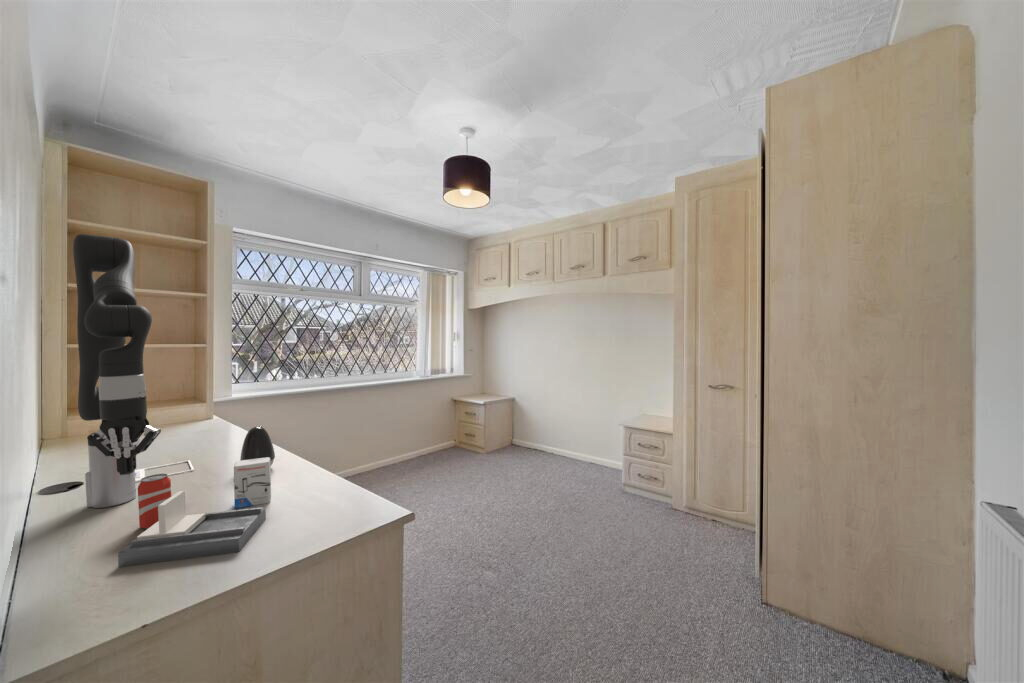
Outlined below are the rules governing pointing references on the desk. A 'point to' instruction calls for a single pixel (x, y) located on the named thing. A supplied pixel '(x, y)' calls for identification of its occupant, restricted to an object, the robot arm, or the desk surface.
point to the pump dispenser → (257, 445)
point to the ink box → (252, 482)
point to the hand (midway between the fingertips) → (127, 473)
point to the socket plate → (197, 539)
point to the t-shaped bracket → (173, 518)
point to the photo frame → (141, 472)
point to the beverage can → (152, 497)
